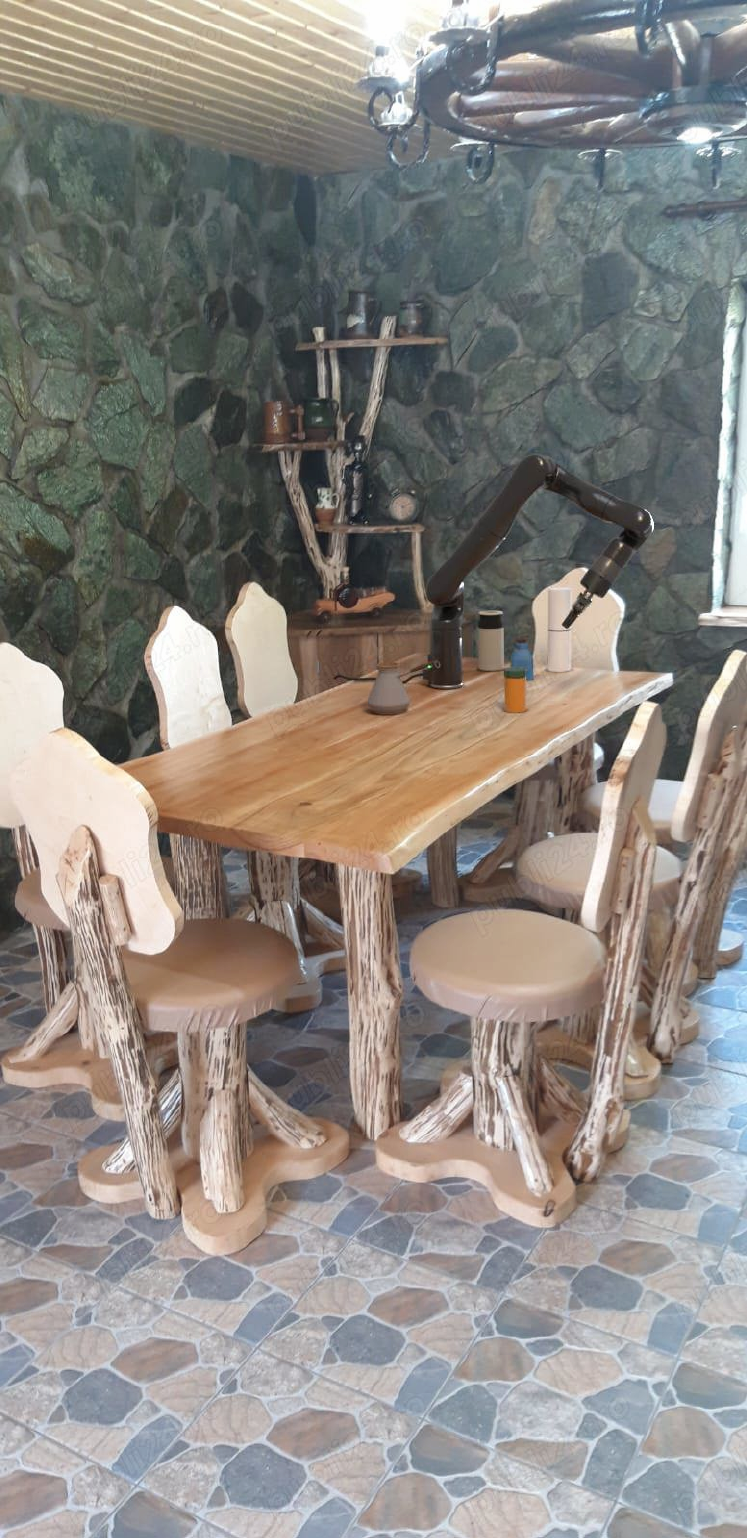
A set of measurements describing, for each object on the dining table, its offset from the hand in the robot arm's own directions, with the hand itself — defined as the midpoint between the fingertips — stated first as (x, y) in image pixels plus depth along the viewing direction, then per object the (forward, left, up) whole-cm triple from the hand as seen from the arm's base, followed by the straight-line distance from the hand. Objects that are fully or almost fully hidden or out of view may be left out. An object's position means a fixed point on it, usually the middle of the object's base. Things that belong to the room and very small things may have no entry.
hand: (565, 626), depth 313 cm
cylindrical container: (-20, +45, -21) cm, 54 cm away
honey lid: (-8, -14, -10) cm, 19 cm away
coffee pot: (-33, -29, -21) cm, 49 cm away
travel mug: (-40, +38, -21) cm, 59 cm away
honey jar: (-8, -14, -21) cm, 26 cm away
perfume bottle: (-25, +28, -21) cm, 43 cm away
